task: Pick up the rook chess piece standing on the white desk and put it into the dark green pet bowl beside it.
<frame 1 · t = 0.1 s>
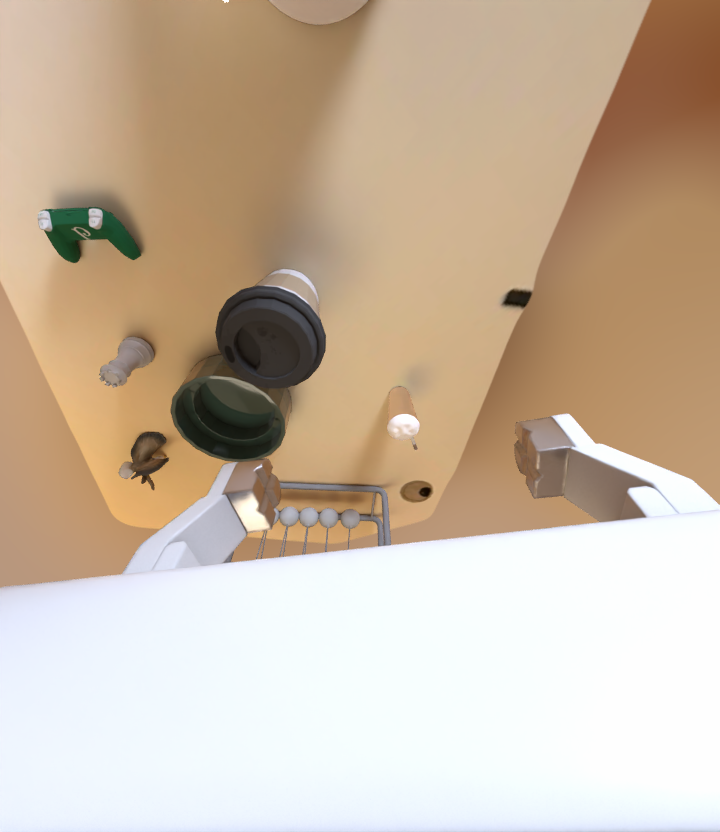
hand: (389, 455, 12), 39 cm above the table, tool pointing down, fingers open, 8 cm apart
eagle figurine: (155, 449, 66), on the table
milkshake: (400, 395, 58), on the table
gaming controller: (98, 232, 44), on the table
newton's cradle: (311, 499, 75), on the table
rook chess piece: (140, 348, 53), on the table
coffee cup: (290, 295, 48), on the table
dark green pet bowl: (240, 397, 58), on the table
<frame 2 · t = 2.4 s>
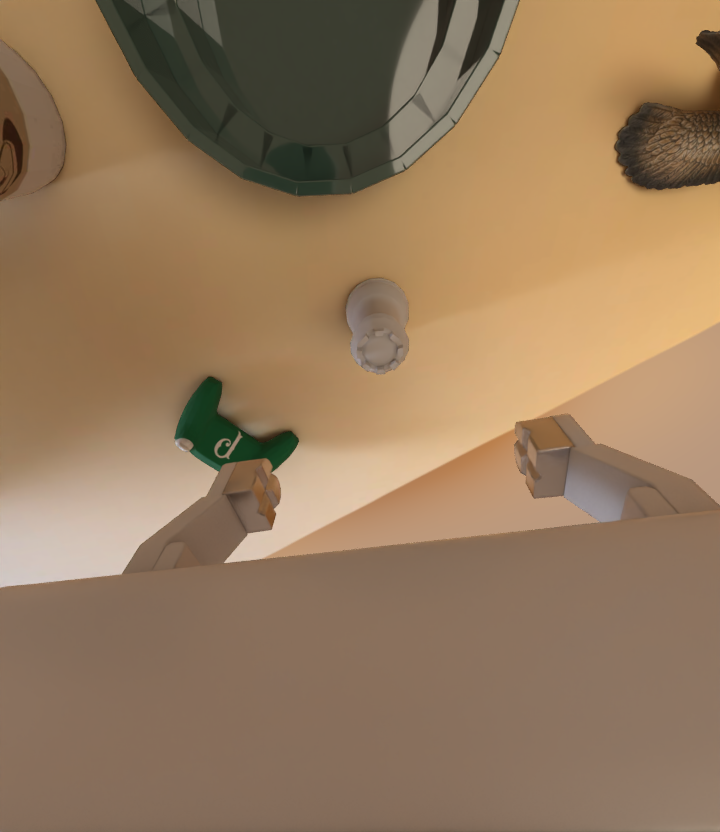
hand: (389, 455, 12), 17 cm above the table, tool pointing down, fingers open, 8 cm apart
eagle figurine: (708, 113, 20), on the table
gaming controller: (241, 424, 32), on the table
rook chess piece: (376, 308, 26), on the table
coffee cup: (2, 116, 21), on the table
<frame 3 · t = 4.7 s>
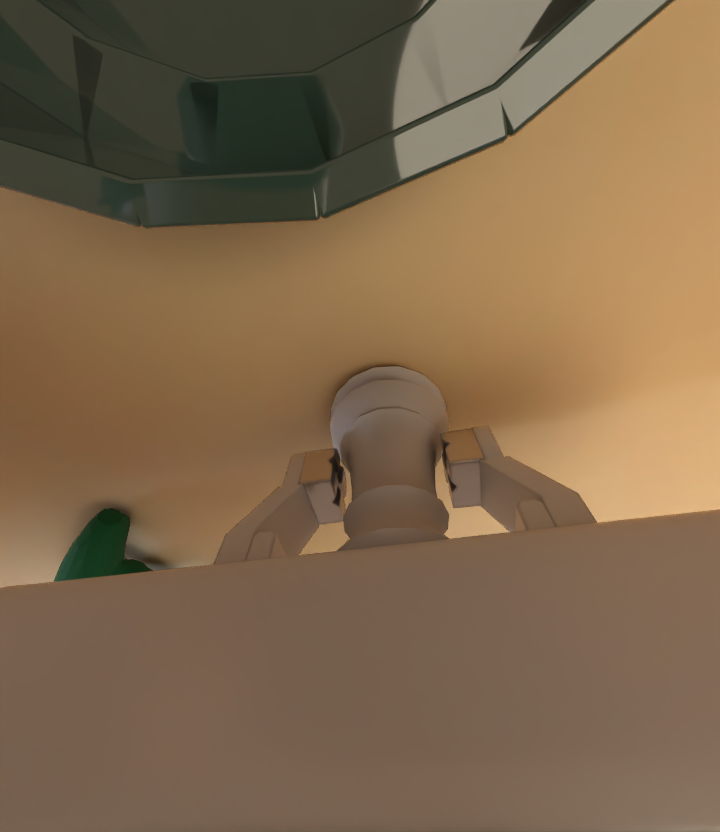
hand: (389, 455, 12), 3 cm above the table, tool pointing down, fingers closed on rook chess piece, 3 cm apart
gaming controller: (171, 562, 20), on the table
rook chess piece: (387, 409, 15), on the table, touching gripper
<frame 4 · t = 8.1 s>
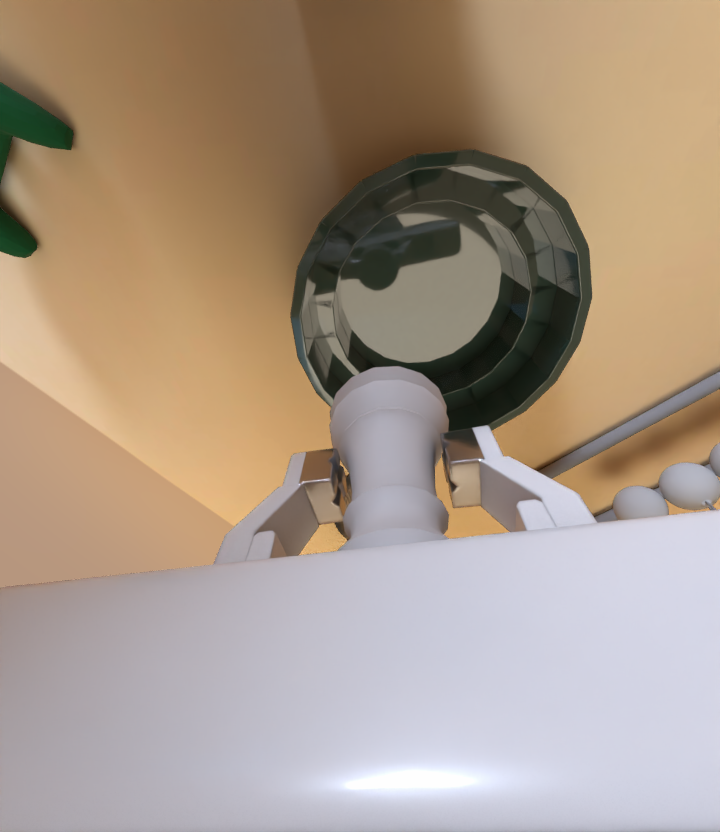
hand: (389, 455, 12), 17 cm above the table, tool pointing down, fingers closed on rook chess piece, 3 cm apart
gaming controller: (12, 165, 22), on the table
newton's cradle: (699, 428, 31), on the table
rook chess piece: (387, 409, 15), point 14 cm above the table, touching gripper
dark green pet bowl: (422, 297, 26), on the table
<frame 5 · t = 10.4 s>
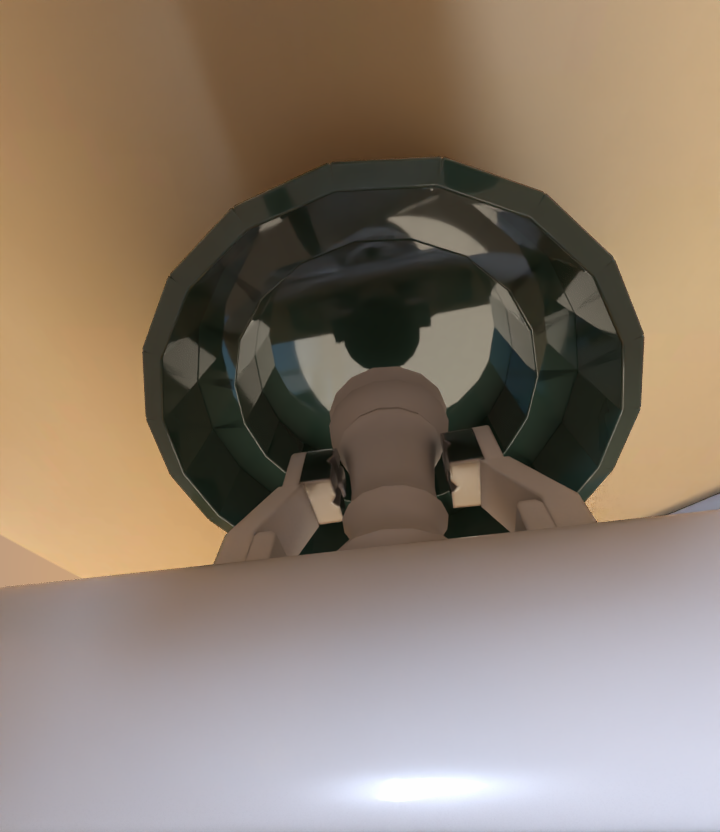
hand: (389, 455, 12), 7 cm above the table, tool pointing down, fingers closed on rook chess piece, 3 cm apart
rook chess piece: (387, 409, 15), point 4 cm above the table, touching gripper
dark green pet bowl: (381, 364, 18), on the table
when the fingers open (3 cm above the table, at t = 11.7 s): rook chess piece stays where it is, resting on dark green pet bowl.
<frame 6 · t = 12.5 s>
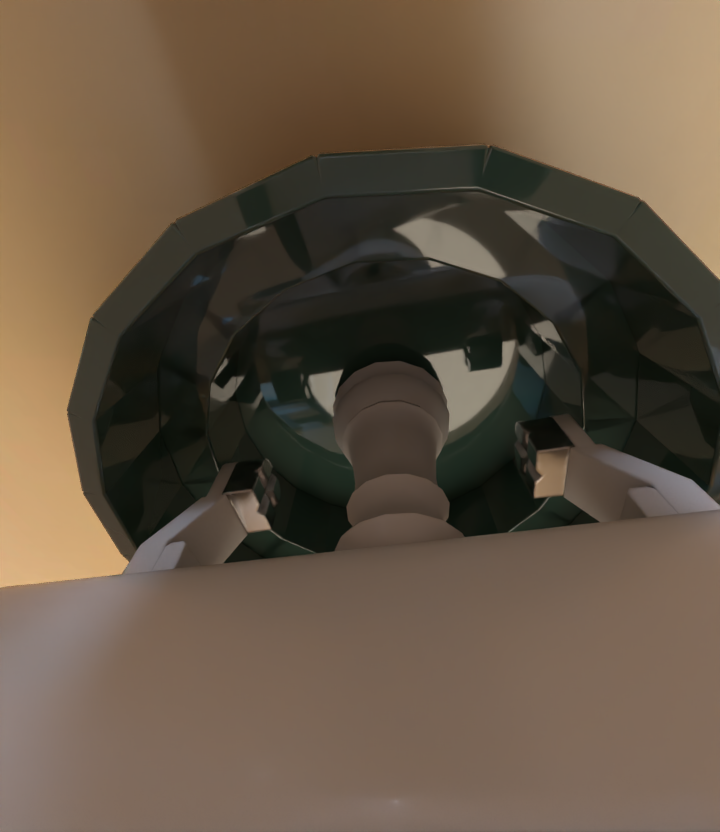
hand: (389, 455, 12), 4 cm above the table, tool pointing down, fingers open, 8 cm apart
rook chess piece: (389, 404, 15), resting on dark green pet bowl
dark green pet bowl: (387, 400, 15), on the table
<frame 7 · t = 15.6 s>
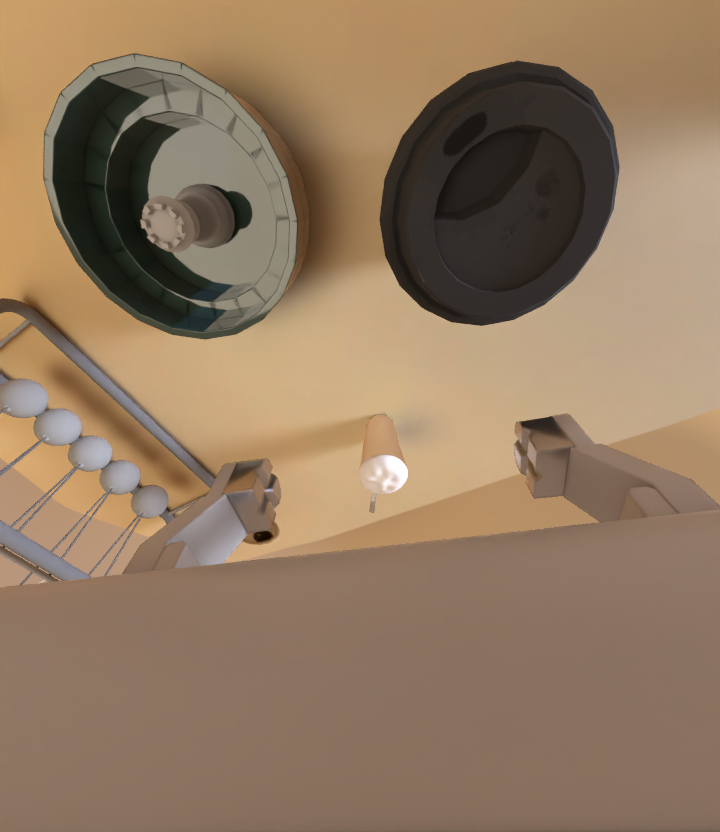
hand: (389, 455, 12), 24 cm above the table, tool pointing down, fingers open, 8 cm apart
milkshake: (379, 428, 41), on the table
newton's cradle: (115, 429, 42), on the table
rook chess piece: (209, 216, 30), resting on dark green pet bowl
coffee cup: (446, 202, 29), on the table
dark green pet bowl: (210, 214, 30), on the table
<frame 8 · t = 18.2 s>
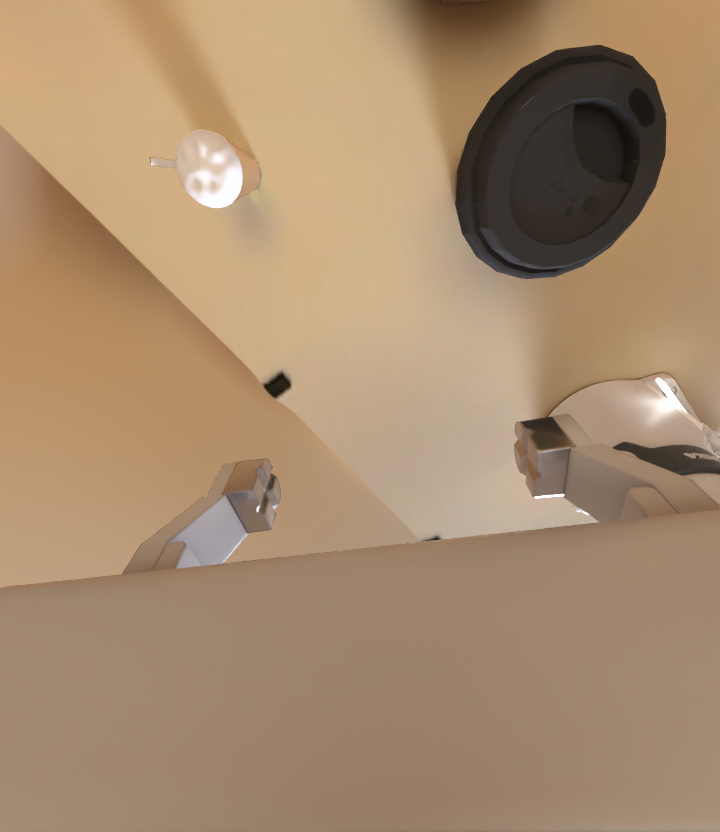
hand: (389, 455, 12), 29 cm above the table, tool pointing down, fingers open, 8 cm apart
milkshake: (239, 171, 32), on the table
coffee cup: (492, 178, 32), on the table
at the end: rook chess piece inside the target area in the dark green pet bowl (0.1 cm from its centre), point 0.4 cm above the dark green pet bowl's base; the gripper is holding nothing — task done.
